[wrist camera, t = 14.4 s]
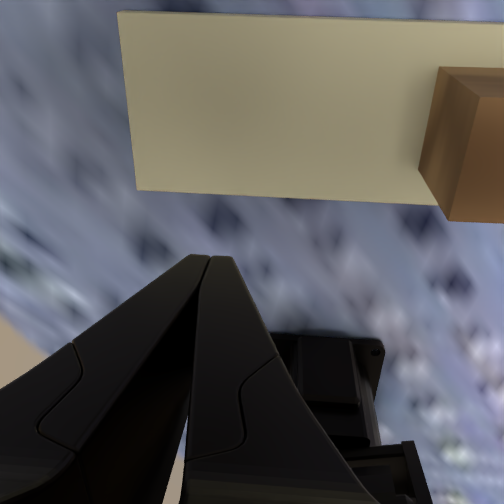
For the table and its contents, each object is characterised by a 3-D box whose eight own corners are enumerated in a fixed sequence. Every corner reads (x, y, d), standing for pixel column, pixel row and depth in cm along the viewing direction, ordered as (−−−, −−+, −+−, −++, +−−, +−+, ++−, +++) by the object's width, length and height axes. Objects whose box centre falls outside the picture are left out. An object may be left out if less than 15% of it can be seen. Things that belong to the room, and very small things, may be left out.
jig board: (731, 212, 20) (747, 221, 20) (141, 182, 22) (136, 190, 21) (841, 33, 17) (865, 36, 16) (123, 10, 18) (116, 12, 17)
